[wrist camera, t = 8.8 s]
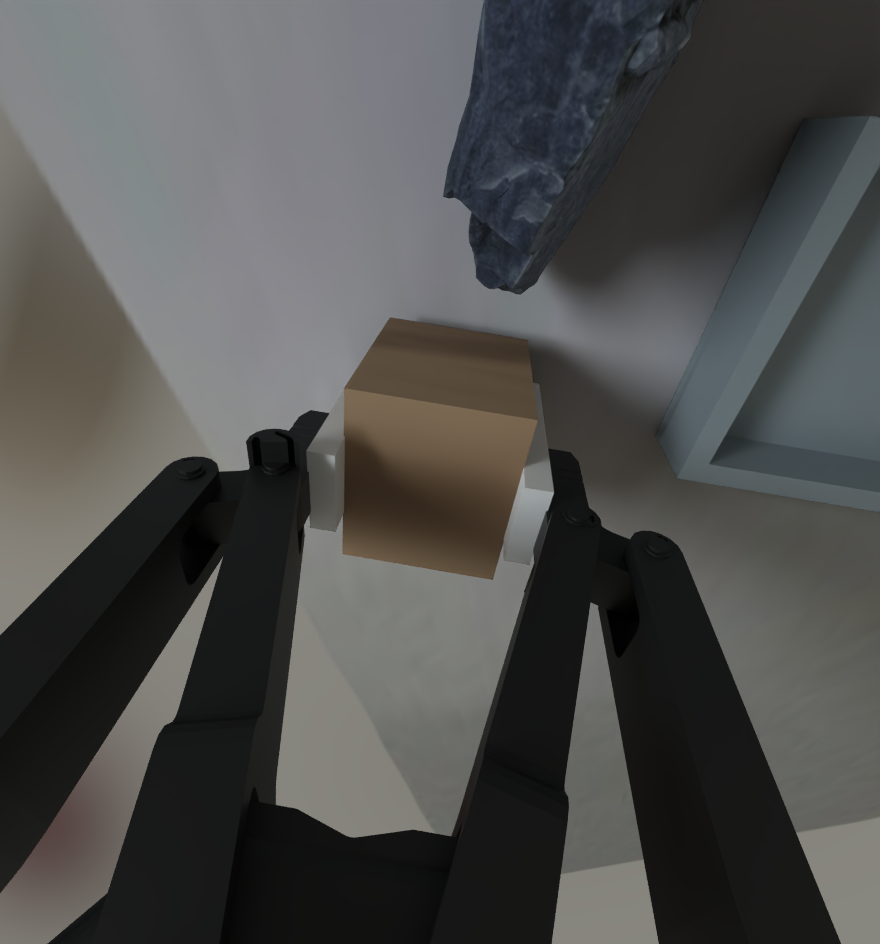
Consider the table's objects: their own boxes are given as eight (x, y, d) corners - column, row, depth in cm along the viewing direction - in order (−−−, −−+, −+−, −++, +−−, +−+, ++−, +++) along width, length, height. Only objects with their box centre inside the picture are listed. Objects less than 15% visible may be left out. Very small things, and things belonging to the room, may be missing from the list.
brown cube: (390, 317, 17) (344, 388, 12) (527, 339, 17) (537, 420, 12) (381, 455, 20) (342, 553, 16) (495, 474, 20) (492, 579, 15)
